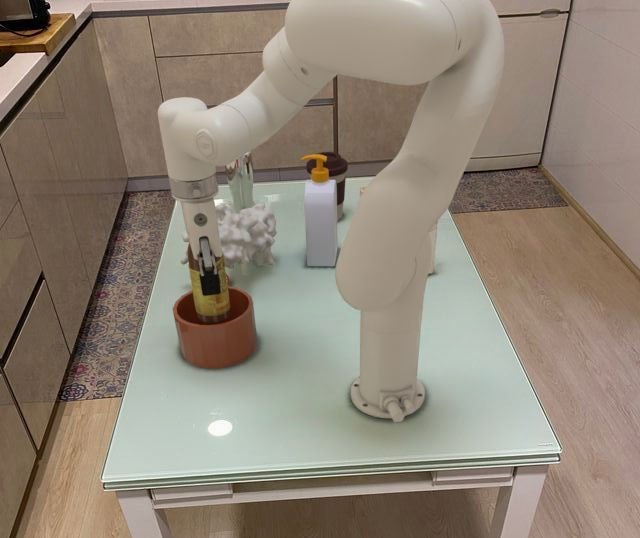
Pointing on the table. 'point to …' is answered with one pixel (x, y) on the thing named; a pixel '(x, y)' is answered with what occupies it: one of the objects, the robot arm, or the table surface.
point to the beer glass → (241, 182)
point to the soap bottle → (320, 215)
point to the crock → (216, 332)
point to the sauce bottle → (212, 305)
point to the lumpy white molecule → (244, 235)
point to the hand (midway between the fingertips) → (209, 283)
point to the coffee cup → (333, 175)
